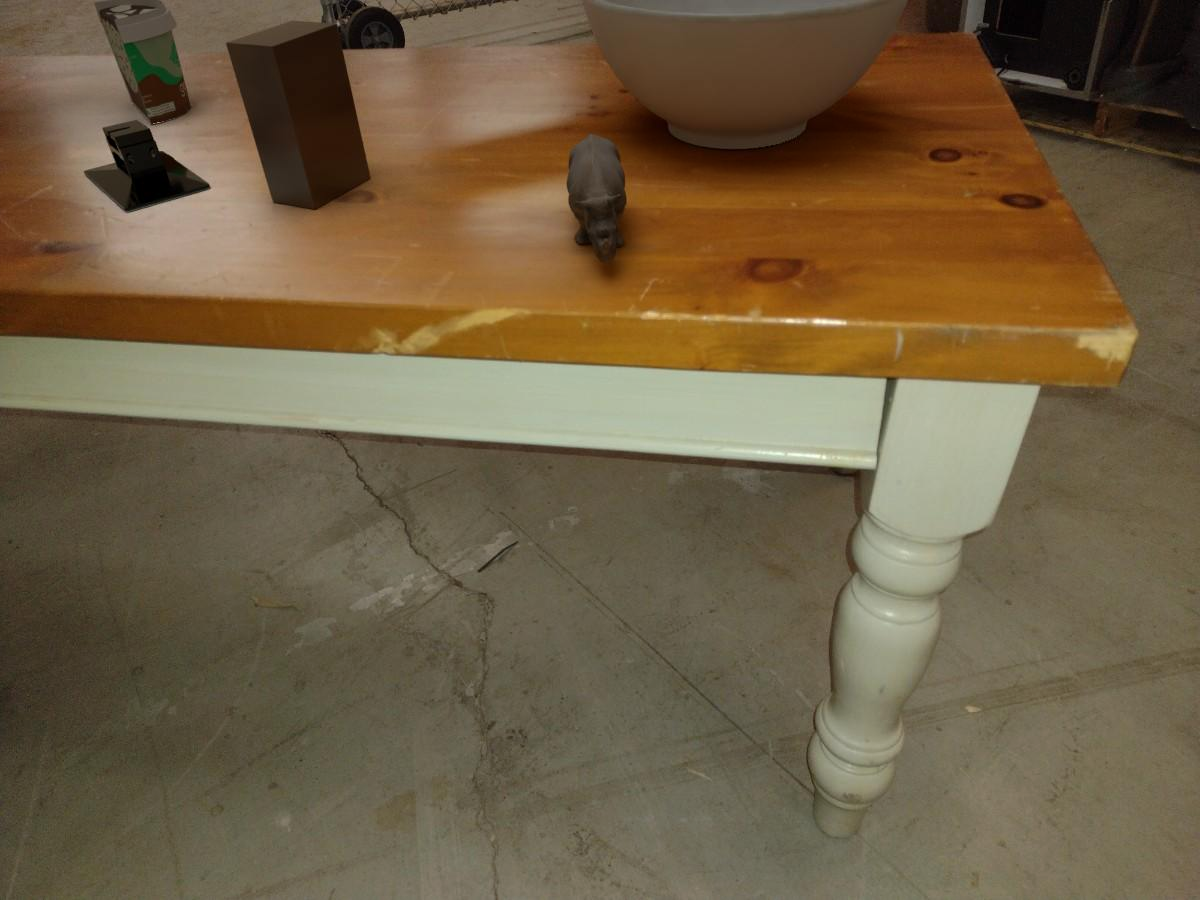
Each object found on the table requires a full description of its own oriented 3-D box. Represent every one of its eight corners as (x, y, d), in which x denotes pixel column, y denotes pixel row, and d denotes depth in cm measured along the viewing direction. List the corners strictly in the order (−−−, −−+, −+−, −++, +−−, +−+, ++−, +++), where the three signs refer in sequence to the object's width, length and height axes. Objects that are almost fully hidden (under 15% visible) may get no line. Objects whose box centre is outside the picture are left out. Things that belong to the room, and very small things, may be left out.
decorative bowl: (629, 80, 92) (626, -50, 84) (893, 87, 85) (914, -53, 78) (549, 172, 72) (535, 12, 64) (886, 191, 65) (914, 15, 58)
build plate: (84, 175, 78) (62, 122, 75) (166, 154, 81) (148, 103, 78) (126, 212, 70) (102, 155, 67) (214, 187, 73) (196, 131, 70)
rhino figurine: (572, 289, 56) (565, 198, 52) (569, 204, 66) (563, 125, 63) (635, 284, 56) (633, 194, 52) (622, 201, 66) (619, 121, 63)
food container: (216, 115, 90) (182, 9, 84) (154, 128, 87) (115, 20, 81) (187, 90, 98) (155, -9, 92) (130, 101, 95) (92, 1, 89)
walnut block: (272, 202, 70) (225, 42, 63) (329, 172, 75) (292, 20, 67) (315, 209, 68) (272, 46, 61) (371, 178, 73) (337, 23, 66)
